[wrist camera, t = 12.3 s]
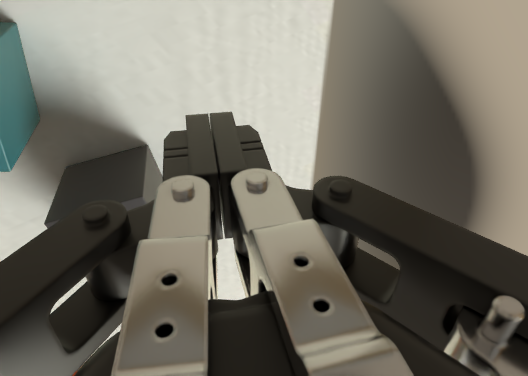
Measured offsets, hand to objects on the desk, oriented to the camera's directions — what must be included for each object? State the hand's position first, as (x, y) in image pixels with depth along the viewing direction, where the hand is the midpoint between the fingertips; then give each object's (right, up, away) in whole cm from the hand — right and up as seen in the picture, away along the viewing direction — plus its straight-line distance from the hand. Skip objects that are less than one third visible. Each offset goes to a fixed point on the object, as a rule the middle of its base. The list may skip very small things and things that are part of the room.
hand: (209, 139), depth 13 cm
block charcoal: (-6, -2, +9) cm, 11 cm away
